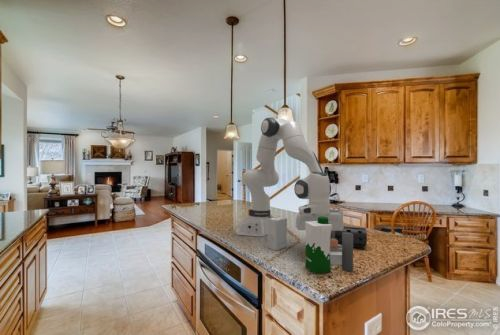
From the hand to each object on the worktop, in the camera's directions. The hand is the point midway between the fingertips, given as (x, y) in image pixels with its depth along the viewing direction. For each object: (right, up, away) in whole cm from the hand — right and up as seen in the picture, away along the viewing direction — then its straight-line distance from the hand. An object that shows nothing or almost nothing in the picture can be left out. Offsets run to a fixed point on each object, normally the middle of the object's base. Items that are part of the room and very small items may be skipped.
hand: (319, 240), depth 103 cm
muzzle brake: (+14, -9, +20) cm, 26 cm away
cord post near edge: (+8, -8, -11) cm, 16 cm away
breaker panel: (+6, -8, 0) cm, 10 cm away
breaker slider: (+6, -4, 0) cm, 7 cm away
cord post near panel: (+9, -8, +11) cm, 16 cm away
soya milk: (-4, -8, -11) cm, 14 cm away
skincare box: (-17, -8, +14) cm, 23 cm away
